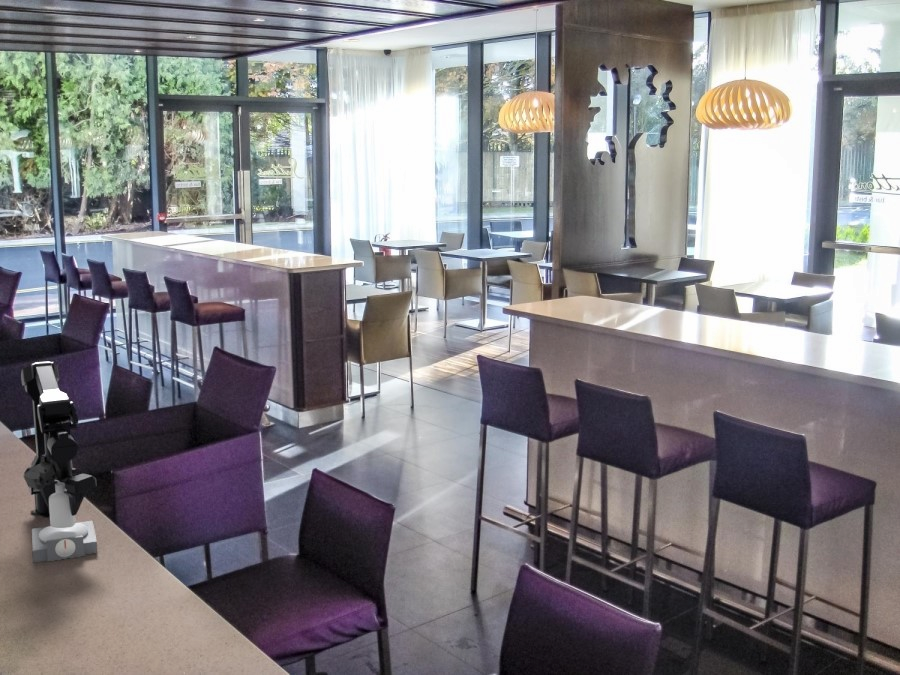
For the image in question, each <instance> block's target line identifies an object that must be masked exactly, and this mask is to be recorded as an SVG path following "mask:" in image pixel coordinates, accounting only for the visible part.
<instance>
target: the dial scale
mask: <svg viewBox="0 0 900 675" xmlns="http://www.w3.org/2000/svg"><path fill="white" fill-rule="evenodd" d="M94 526H95V525H94V521H93V520H87V521H80V522H76V523H75V525H74V526H72V527H68V528H55V527H51V525H49V526H43V527H42V526H41V527H37V528H31V534H32V535H31V539H32V540H31V542H32V559H33V564H34V563H41V562H47V563H50V562H49V561H51V562H56V561H55V560H58V561H61V560H60V559H64V560H68V559H67V558H71V559H75V558H74V557H78V558H81V557H80V556H84V557H85V555H84V554H89V553H95V554H98V541H97V536H96V531H95V527H94ZM89 555H90V554H89Z"/></svg>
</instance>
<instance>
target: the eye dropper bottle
mask: <svg viewBox="0 0 900 675" xmlns="http://www.w3.org/2000/svg"><path fill="white" fill-rule="evenodd" d="M55 491H56V493H53V494H52V495H50V497H49V512H50V516H49V524H50V525H49V526H51V527H55V528H68V527H72V526H74V525H75V523H77V518H76V515H74V516H72V514H71V510H70V503H69V497H68V496H67V495H66V494H65V493H64V491H67V490H66V488H65V483H62V482H59V481H58V483H56V484H55Z"/></svg>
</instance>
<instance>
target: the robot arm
mask: <svg viewBox="0 0 900 675" xmlns="http://www.w3.org/2000/svg"><path fill="white" fill-rule="evenodd" d="M58 368H59V367H58V365H57V364H54V361H48V360H47V361H39V362H38V361H37V362H36V361H35V362H33V363H31V364H30V365H29V366H27V367H25V368H22V369H21V373H20V378H21V379H20V381H21V386H24V390H25V392H26V393H27V395H28V396H29V397H30V398H31V400H32V411H33V412H32V413H33V414H32V415H33V423H34V424H33V425H34V427H33V428H34V434H35V435H34V437H35V438H34V439H35V440H34V441H35V447H36V448H35V452H36V455H35V456H34V458H33V459H32V462H31V463H30V466H29V467H27V468H26V469H25V471H24V472H23V479H24V480H25V483H26V485H27V487H28V490H29V493H30V495H31V496H33V495H34V506H35V507H34V509H33V510H30V514H33V515H36V516H39V517H44V518H50V512H49V497H50V495H52V494H53V493H56V491H55V484H56V483H58V481H59V482H62V483H65V488H66V491H64V493H65V494H66V495H67V496H68V497H69V503H70V510H71V514H72V516H74V515H75V516H76V515H77V514H78V511H79V509H80V508H81V505H82V503H83V500H84V498H85V497H86V494H87V493H88V491H89V490H91V489H94V488H96V487H97V478H96V477H95V476H94V475H91V474H87V473H81V474H80V473H79V474H78V475H74V474H77V468H74V467H73V459H74V458H75V457H76V456H77V454H78V451H79V450H78V448H79V447H78V445H77V442H76V440H74V437H73V436H72V435H71V430H77V429H78V424H79V419H78V414H77V408H76V405H75V404H74V402H73V401H70V397H69V395H68V393H65V392H63V391H61V390H60V387H59V386H60V385H59V384H58V382H59V380H60V376H59V374H60V373H59V369H58ZM73 475H74V476H73Z"/></svg>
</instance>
